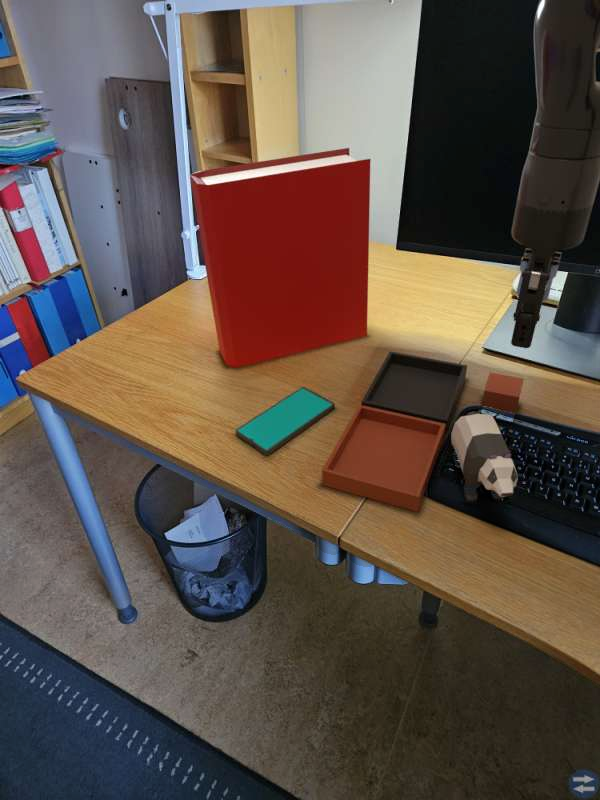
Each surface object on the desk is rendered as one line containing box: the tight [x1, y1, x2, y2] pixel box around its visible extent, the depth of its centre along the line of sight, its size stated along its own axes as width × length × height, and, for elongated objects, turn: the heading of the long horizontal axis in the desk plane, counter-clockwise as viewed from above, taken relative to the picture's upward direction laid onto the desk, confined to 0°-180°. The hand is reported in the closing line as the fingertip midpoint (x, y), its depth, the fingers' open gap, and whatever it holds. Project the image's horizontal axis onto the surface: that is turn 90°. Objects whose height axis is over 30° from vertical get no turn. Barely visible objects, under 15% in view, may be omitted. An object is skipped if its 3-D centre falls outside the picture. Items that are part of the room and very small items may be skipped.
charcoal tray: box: [360, 350, 468, 436], centre depth 90 cm, size 13×15×3 cm
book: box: [189, 147, 371, 368], centre depth 97 cm, size 27×8×32 cm, turn 110°
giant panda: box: [450, 411, 519, 502], centre depth 71 cm, size 15×6×10 cm, turn 2°
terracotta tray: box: [321, 404, 446, 512], centre depth 78 cm, size 13×15×3 cm
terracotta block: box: [480, 372, 524, 414], centre depth 85 cm, size 5×5×5 cm
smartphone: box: [235, 386, 336, 456], centre depth 87 cm, size 7×1×15 cm
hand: (525, 328), depth 69 cm, fingers open, 8 cm apart
